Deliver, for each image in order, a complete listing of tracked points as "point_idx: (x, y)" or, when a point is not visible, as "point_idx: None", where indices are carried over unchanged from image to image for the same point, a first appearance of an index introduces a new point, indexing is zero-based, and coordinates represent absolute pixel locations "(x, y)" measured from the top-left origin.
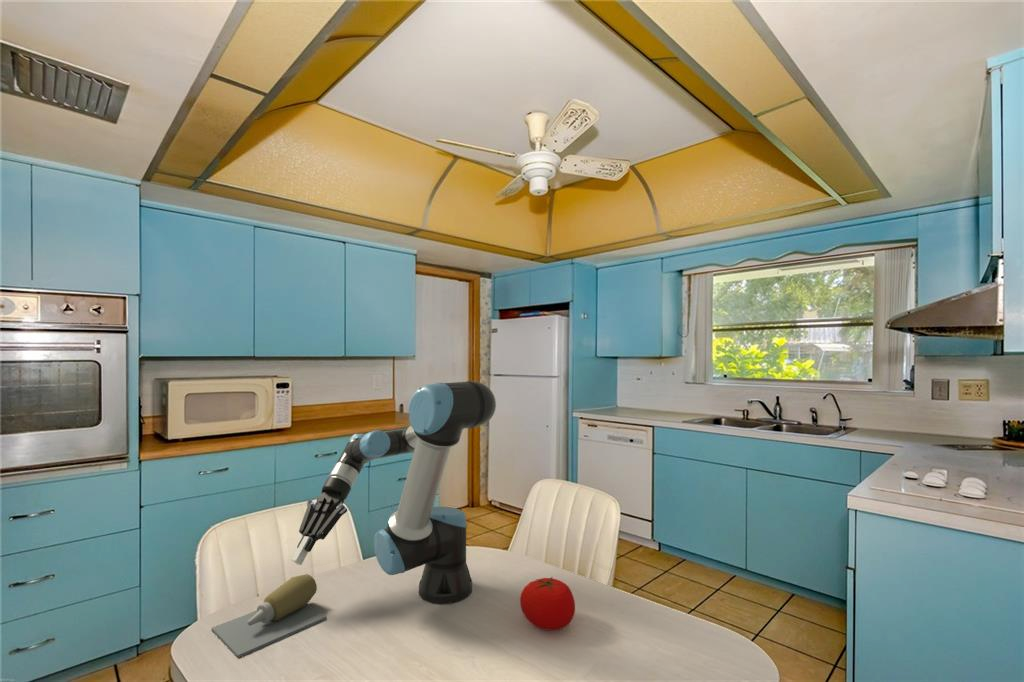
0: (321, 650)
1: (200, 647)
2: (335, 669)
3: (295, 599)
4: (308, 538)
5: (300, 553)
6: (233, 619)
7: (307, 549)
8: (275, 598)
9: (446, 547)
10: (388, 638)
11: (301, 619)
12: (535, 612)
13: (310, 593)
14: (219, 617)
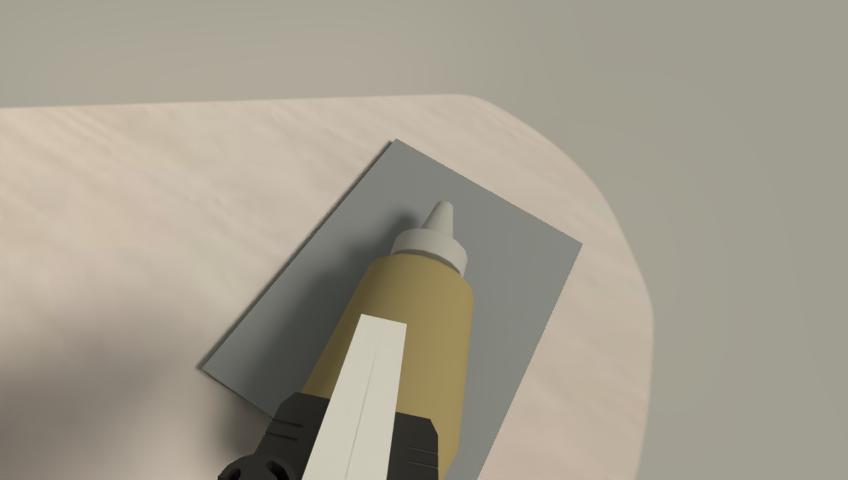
0: (150, 190)
1: (533, 174)
2: (74, 119)
3: (336, 328)
4: (305, 471)
5: (347, 353)
6: (558, 296)
7: (292, 397)
8: (403, 257)
9: None
10: None
11: (302, 332)
12: None
13: None
14: (625, 319)
